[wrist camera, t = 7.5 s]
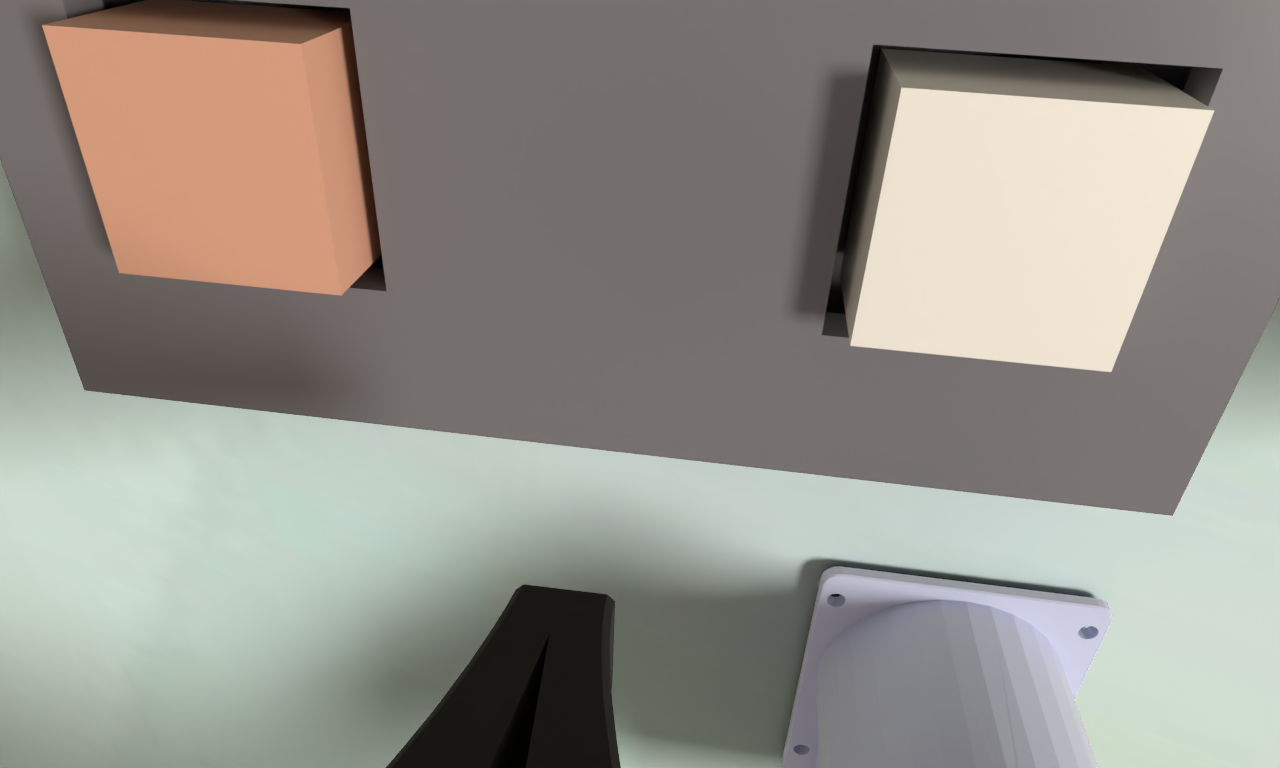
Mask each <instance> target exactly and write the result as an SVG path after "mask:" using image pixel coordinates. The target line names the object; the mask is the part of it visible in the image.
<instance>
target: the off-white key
mask: <svg viewBox="0 0 1280 768" xmlns="http://www.w3.org/2000/svg"><path fill="white" fill-rule="evenodd" d="M1214 111H1215V110H1213V109H1211V108H1209V107H1208V106H1206V105H1204V104H1203V103H1201V102H1199V101H1198V100H1196V99H1194V98H1193V97H1191V96H1189V95H1188V94H1186V93H1184V92H1183V91H1181V90H1179V89H1178V88H1176V87H1174V86H1173V85H1171V84H1169V83H1168V82H1166V81H1164V80H1163V79H1161V78H1159V77H1158V76H1156V75H1154V74H1153V73H1151V72H1149V71H1148V70H1146V69H1144V68H1143V67H1139V66H1125V65H1110V64H1096V63H1082V62H1067V61H1053V60H1039V59H1024V58H1010V57H995V56H981V55H967V54H952V53H938V52H923V51H909V50H895V49H881V53H880V58H879V64H878V69H877V74H876V80H875V85H874V91H873V96H872V102H871V107H870V113H869V118H868V124H867V129H866V135H865V140H864V146H863V151H862V157H861V162H860V168H859V173H858V179H857V184H856V190H855V195H854V201H853V206H852V212H851V217H850V223H849V228H848V234H847V239H846V245H845V250H844V256H843V261H842V266H841V272H840V280H841V287H842V294H843V301H844V307H845V314H846V321H847V328H848V334H849V341H850V346H857V347H867V348H877V349H887V350H897V351H907V352H917V353H926V354H936V355H946V356H956V357H966V358H976V359H986V360H996V361H1005V362H1015V363H1025V364H1035V365H1045V366H1055V367H1065V368H1075V369H1085V370H1094V371H1104V372H1112V369H1113V367H1114V364H1115V361H1116V359H1117V356H1118V354H1119V351H1120V349H1121V346H1122V344H1123V341H1124V339H1125V336H1126V334H1127V331H1128V329H1129V326H1130V323H1131V321H1132V318H1133V316H1134V313H1135V311H1136V308H1137V306H1138V303H1139V301H1140V298H1141V296H1142V293H1143V290H1144V288H1145V285H1146V283H1147V280H1148V278H1149V275H1150V273H1151V270H1152V268H1153V265H1154V263H1155V260H1156V258H1157V255H1158V252H1159V250H1160V247H1161V245H1162V242H1163V240H1164V237H1165V235H1166V232H1167V230H1168V227H1169V225H1170V222H1171V220H1172V217H1173V214H1174V212H1175V209H1176V207H1177V204H1178V202H1179V199H1180V197H1181V194H1182V192H1183V189H1184V187H1185V184H1186V182H1187V179H1188V176H1189V174H1190V171H1191V169H1192V166H1193V164H1194V161H1195V159H1196V156H1197V154H1198V151H1199V149H1200V146H1201V143H1202V141H1203V138H1204V136H1205V133H1206V131H1207V128H1208V126H1209V123H1210V121H1211V118H1212V116H1213V113H1214Z"/></svg>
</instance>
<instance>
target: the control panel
mask: <svg viewBox="0 0 1280 768" xmlns="http://www.w3.org/2000/svg"><path fill="white" fill-rule="evenodd" d="M140 1H144V0H0V159H1V162H2V164H3V167H4V170H5V173H6V175H7V178H8V181H9V184H10V186H11V189H12V192H13V195H14V197H15V200H16V203H17V206H18V208H19V211H20V214H21V217H22V219H23V222H24V225H25V228H26V230H27V233H28V236H29V239H30V241H31V244H32V247H33V250H34V252H35V255H36V258H37V261H38V263H39V266H40V269H41V272H42V274H43V277H44V280H45V283H46V285H47V288H48V291H49V294H50V296H51V299H52V302H53V305H54V307H55V310H56V313H57V316H58V318H59V321H60V324H61V326H62V329H63V332H64V335H65V337H66V340H67V343H68V346H69V348H70V351H71V354H72V357H73V359H74V362H75V365H76V368H77V370H78V373H79V376H80V379H81V381H82V384H83V387H84V390H87V391H96V392H104V393H113V394H122V395H130V396H139V397H148V398H156V399H165V400H174V401H182V402H191V403H200V404H208V405H217V406H226V407H234V408H243V409H252V410H260V411H269V412H278V413H286V414H295V415H304V416H312V417H321V418H330V419H338V420H347V421H356V422H365V423H373V424H382V425H391V426H399V427H408V428H417V429H425V430H434V431H443V432H451V433H460V434H469V435H477V436H486V437H495V438H503V439H512V440H521V441H529V442H538V443H547V444H555V445H564V446H573V447H581V448H590V449H599V450H607V451H616V452H625V453H634V454H642V455H651V456H660V457H668V458H677V459H686V460H694V461H703V462H712V463H720V464H729V465H738V466H746V467H755V468H764V469H772V470H781V471H790V472H798V473H807V474H816V475H824V476H833V477H842V478H850V479H859V480H868V481H876V482H885V483H894V484H903V485H911V486H920V487H929V488H937V489H946V490H955V491H963V492H972V493H981V494H989V495H998V496H1007V497H1015V498H1024V499H1033V500H1041V501H1050V502H1059V503H1067V504H1076V505H1085V506H1093V507H1102V508H1111V509H1119V510H1128V511H1137V512H1145V513H1154V514H1163V515H1172V516H1173V514H1174V512H1175V510H1176V508H1177V506H1178V504H1179V502H1180V499H1181V497H1182V495H1183V493H1184V491H1185V489H1186V487H1187V485H1188V483H1189V481H1190V479H1191V477H1192V475H1193V473H1194V471H1195V469H1196V467H1197V465H1198V463H1199V461H1200V459H1201V457H1202V455H1203V453H1204V451H1205V449H1206V447H1207V445H1208V442H1209V440H1210V438H1211V436H1212V434H1213V432H1214V430H1215V428H1216V426H1217V424H1218V422H1219V420H1220V418H1221V416H1222V414H1223V412H1224V410H1225V408H1226V406H1227V404H1228V402H1229V400H1230V398H1231V396H1232V394H1233V392H1234V390H1235V388H1236V385H1237V383H1238V381H1239V379H1240V377H1241V375H1242V373H1243V371H1244V369H1245V367H1246V365H1247V363H1248V361H1249V359H1250V357H1251V355H1252V353H1253V351H1254V349H1255V347H1256V345H1257V343H1258V341H1259V339H1260V337H1261V335H1262V333H1263V331H1264V328H1265V326H1266V324H1267V322H1268V320H1269V318H1270V316H1271V314H1272V312H1273V310H1274V308H1275V306H1276V304H1277V302H1278V300H1279V298H1280V0H183V1H197V2H211V3H226V4H240V5H254V6H269V7H283V8H298V9H312V10H326V11H341V12H350V14H351V21H352V29H353V37H354V45H355V52H356V60H357V68H358V75H359V83H360V91H361V98H362V106H363V114H364V122H365V129H366V137H367V145H368V152H369V160H370V168H371V175H372V183H373V191H374V199H375V206H376V214H377V222H378V229H379V237H380V245H381V252H382V255H381V256H380V257H379V258H378V259H377V260H376V261H375V262H374V263H373V264H372V265H371V266H370V267H369V268H368V269H367V270H366V271H365V272H364V273H363V274H362V275H361V276H360V277H359V278H358V279H357V280H356V281H355V282H354V283H353V284H352V285H351V286H350V287H349V288H348V289H347V290H346V291H345V292H344V294H343V295H342V296H341V295H331V294H321V293H311V292H301V291H291V290H282V289H272V288H262V287H252V286H242V285H232V284H222V283H212V282H203V281H193V280H183V279H173V278H163V277H153V276H143V275H134V274H124V273H119V271H118V268H117V265H116V261H115V258H114V255H113V252H112V249H111V245H110V242H109V239H108V236H107V232H106V229H105V226H104V223H103V220H102V216H101V213H100V210H99V207H98V204H97V200H96V197H95V194H94V191H93V188H92V184H91V181H90V178H89V175H88V171H87V168H86V165H85V162H84V159H83V155H82V152H81V149H80V146H79V143H78V139H77V136H76V133H75V130H74V126H73V123H72V120H71V117H70V114H69V110H68V107H67V104H66V101H65V98H64V94H63V91H62V88H61V85H60V81H59V78H58V75H57V72H56V69H55V65H54V62H53V59H52V56H51V53H50V49H49V46H48V43H47V40H46V37H45V33H44V30H43V27H42V25H44V24H48V23H53V22H57V21H61V20H65V19H69V18H73V17H78V16H82V15H86V14H90V13H94V12H98V11H103V10H107V9H111V8H115V7H119V6H123V5H128V4H132V3H136V2H140ZM881 49H895V50H909V51H923V52H938V53H952V54H967V55H981V56H995V57H1010V58H1024V59H1039V60H1053V61H1067V62H1082V63H1096V64H1110V65H1125V66H1139V67H1143V68H1144V69H1146V70H1148V71H1149V72H1151V73H1153V74H1154V75H1156V76H1158V77H1159V78H1161V79H1163V80H1164V81H1166V82H1168V83H1169V84H1171V85H1173V86H1174V87H1176V88H1178V89H1179V90H1181V91H1183V92H1184V93H1186V94H1188V95H1189V96H1191V97H1193V98H1194V99H1196V100H1198V101H1199V102H1201V103H1203V104H1204V105H1206V106H1208V107H1209V108H1211V109H1213V110H1215V111H1214V113H1213V116H1212V118H1211V121H1210V123H1209V126H1208V128H1207V131H1206V133H1205V136H1204V138H1203V141H1202V143H1201V146H1200V149H1199V151H1198V154H1197V156H1196V159H1195V161H1194V164H1193V166H1192V169H1191V171H1190V174H1189V176H1188V179H1187V182H1186V184H1185V187H1184V189H1183V192H1182V194H1181V197H1180V199H1179V202H1178V204H1177V207H1176V209H1175V212H1174V214H1173V217H1172V220H1171V222H1170V225H1169V227H1168V230H1167V232H1166V235H1165V237H1164V240H1163V242H1162V245H1161V247H1160V250H1159V252H1158V255H1157V258H1156V260H1155V263H1154V265H1153V268H1152V270H1151V273H1150V275H1149V278H1148V280H1147V283H1146V285H1145V288H1144V290H1143V293H1142V296H1141V298H1140V301H1139V303H1138V306H1137V308H1136V311H1135V313H1134V316H1133V318H1132V321H1131V323H1130V326H1129V329H1128V331H1127V334H1126V336H1125V339H1124V341H1123V344H1122V346H1121V349H1120V351H1119V354H1118V356H1117V359H1116V361H1115V364H1114V367H1113V369H1112V372H1104V371H1094V370H1085V369H1075V368H1065V367H1055V366H1045V365H1035V364H1025V363H1015V362H1005V361H996V360H986V359H976V358H966V357H956V356H946V355H936V354H926V353H917V352H907V351H897V350H887V349H877V348H867V347H857V346H850V341H849V334H848V328H847V321H846V314H845V307H844V301H843V294H842V287H841V280H840V272H841V266H842V261H843V256H844V250H845V245H846V239H847V234H848V228H849V223H850V217H851V212H852V206H853V201H854V195H855V190H856V184H857V179H858V173H859V168H860V162H861V157H862V151H863V146H864V140H865V135H866V129H867V124H868V118H869V113H870V107H871V102H872V96H873V91H874V85H875V80H876V74H877V69H878V64H879V58H880V53H881Z"/></svg>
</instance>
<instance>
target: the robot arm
mask: <svg viewBox="0 0 1280 768" xmlns="http://www.w3.org/2000/svg"><path fill="white" fill-rule="evenodd" d="M832 594H840V595H841V596H839V597H833V596H830V595H832ZM614 611H615V601H614V600H613V599H612V598H611V597H609V596H608V595H606V594H598V593H590V592H581V591H573V590H565V589H556V588H548V587H540V586H531V585H522V586H521V587H519V588H518V589H516V591H515V592H514V594H513V596H512V598H511V600H510V601H509V603H508V605H507V606H506V608H505V610H504V611H503V613H502V615H501V616H500V618H499V619H498V621H497V623H496V624H495V626H494V627H493V629H492V630H491V632H490V633H489V635H488V636H487V638H486V639H485V641H484V642H483V644H482V645H481V647H480V648H479V650H478V651H477V652H476V654H475V655H474V657H473V658H472V660H471V661H470V663H469V664H468V665H467V667H466V668H465V669H464V671H463V672H462V673H461V675H460V676H459V677H458V679H457V680H456V681H455V683H454V684H453V686H452V687H451V688H450V690H449V691H448V692H447V694H446V695H445V696H444V698H443V699H442V700H441V702H440V703H439V704H438V706H437V707H436V708H435V709H434V711H433V712H432V713H431V714H430V716H429V717H428V718H427V719H426V721H425V722H424V723H423V724H422V725H421V727H420V728H419V729H418V730H417V731H416V733H415V734H414V735H413V736H412V737H411V739H410V740H409V741H408V742H407V743H406V745H405V746H404V747H403V748H402V750H401V751H400V752H399V753H398V754H397V756H396V757H395V758H394V759H393V760H392V761H391V763H390V764H389V765H388V766H387V767H386V768H621V767H620V761H619V754H618V747H617V740H616V732H615V723H614V714H613V705H612V695H611V688H612V672H613V641H614ZM1112 619H1113V615H1112V613H1111V611H1110V608H1109V606H1108V604H1107V603H1106V602H1105V601H1103V600H1101V599H1097V598H1090V597H1082V596H1074V595H1066V594H1058V593H1050V592H1042V591H1034V590H1026V589H1018V588H1010V587H1002V586H994V585H986V584H978V583H970V582H962V581H954V580H946V579H938V578H930V577H922V576H914V575H906V574H898V573H890V572H882V571H874V570H866V569H858V568H850V567H842V566H837V567H831V568H828V569H827V570H825V571H824V572H823V574H822V576H821V578H820V583H819V588H818V592H817V597H816V602H815V606H814V611H813V616H812V620H811V625H810V630H809V635H808V639H807V644H806V649H805V653H804V658H803V663H802V667H801V672H800V677H799V681H798V686H797V691H796V695H795V700H794V705H793V710H792V714H791V719H790V724H789V728H788V733H787V738H786V742H785V747H784V752H783V756H782V759H783V768H1098V765H1097V762H1096V759H1095V756H1094V754H1093V751H1092V748H1091V745H1090V742H1089V739H1088V736H1087V734H1086V731H1085V728H1084V725H1083V722H1082V719H1081V716H1080V714H1079V711H1078V708H1077V705H1076V702H1075V697H1076V695H1077V693H1078V691H1079V689H1080V687H1081V685H1082V683H1083V680H1084V678H1085V676H1086V674H1087V672H1088V670H1089V668H1090V666H1091V664H1092V662H1093V660H1094V658H1095V656H1096V654H1097V652H1098V649H1099V647H1100V645H1101V643H1102V641H1103V639H1104V637H1105V635H1106V633H1107V631H1108V629H1109V627H1110V625H1111V623H1112ZM1085 626H1090V627H1088V628H1083V627H1085Z"/></svg>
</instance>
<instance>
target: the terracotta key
mask: <svg viewBox="0 0 1280 768" xmlns="http://www.w3.org/2000/svg"><path fill="white" fill-rule="evenodd" d="M42 27H43V30H44V33H45V37H46V40H47V43H48V46H49V49H50V53H51V56H52V59H53V62H54V65H55V69H56V72H57V75H58V78H59V81H60V85H61V88H62V91H63V94H64V98H65V101H66V104H67V107H68V110H69V114H70V117H71V120H72V123H73V126H74V130H75V133H76V136H77V139H78V143H79V146H80V149H81V152H82V155H83V159H84V162H85V165H86V168H87V171H88V175H89V178H90V181H91V184H92V188H93V191H94V194H95V197H96V200H97V204H98V207H99V210H100V213H101V216H102V220H103V223H104V226H105V229H106V232H107V236H108V239H109V242H110V245H111V249H112V252H113V255H114V258H115V261H116V265H117V268H118V271H119V273H124V274H134V275H143V276H153V277H163V278H173V279H183V280H193V281H203V282H212V283H222V284H232V285H242V286H252V287H262V288H272V289H282V290H291V291H301V292H311V293H321V294H331V295H341V296H342V295H343V294H344V292H345V291H346V290H347V289H348V288H349V287H350V286H351V285H352V284H353V283H354V282H355V281H356V280H357V279H358V278H359V277H360V276H361V275H362V274H363V273H364V272H365V271H366V270H367V269H368V268H369V267H370V266H371V265H372V264H373V263H374V262H375V261H376V260H377V259H378V258H379V257H380V256H381V255H382V252H381V245H380V237H379V229H378V222H377V214H376V206H375V199H374V191H373V183H372V175H371V168H370V160H369V152H368V145H367V137H366V129H365V122H364V114H363V106H362V98H361V91H360V83H359V75H358V68H357V60H356V52H355V45H354V37H353V29H352V21H351V14H350V12H341V11H326V10H312V9H298V8H283V7H269V6H254V5H240V4H226V3H211V2H197V1H183V0H144V1H140V2H136V3H132V4H128V5H123V6H119V7H115V8H111V9H107V10H103V11H98V12H94V13H90V14H86V15H82V16H78V17H73V18H69V19H65V20H61V21H57V22H53V23H48V24H44V25H42Z"/></svg>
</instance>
